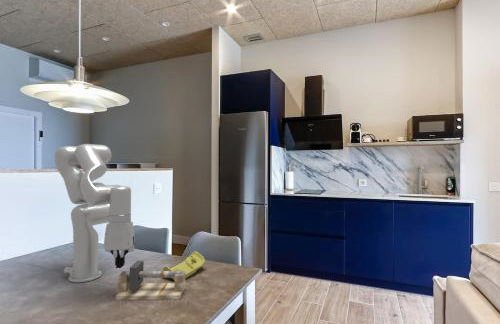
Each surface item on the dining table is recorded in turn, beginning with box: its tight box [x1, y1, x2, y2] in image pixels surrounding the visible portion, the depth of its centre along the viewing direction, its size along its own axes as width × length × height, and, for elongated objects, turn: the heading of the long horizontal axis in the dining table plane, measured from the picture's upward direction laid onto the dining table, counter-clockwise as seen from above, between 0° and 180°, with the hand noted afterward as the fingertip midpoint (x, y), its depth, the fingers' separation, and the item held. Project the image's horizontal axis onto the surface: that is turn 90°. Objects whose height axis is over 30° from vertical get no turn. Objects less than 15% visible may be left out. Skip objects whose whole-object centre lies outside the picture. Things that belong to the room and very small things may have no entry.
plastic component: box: [162, 250, 205, 281], centre depth 131 cm, size 20×7×10 cm
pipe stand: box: [115, 270, 186, 301], centre depth 111 cm, size 24×11×8 cm, turn 92°
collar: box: [129, 260, 145, 290], centre depth 110 cm, size 2×8×8 cm, turn 2°
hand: (119, 267), depth 110 cm, fingers closed
